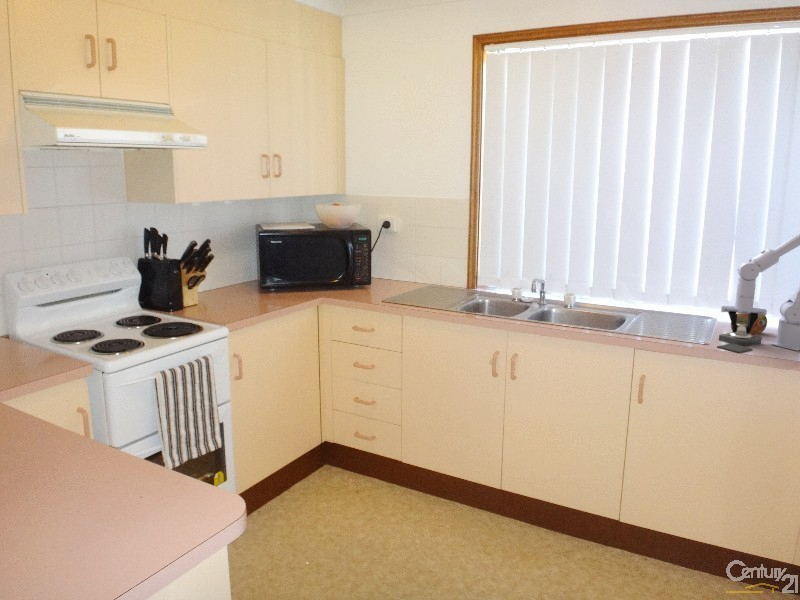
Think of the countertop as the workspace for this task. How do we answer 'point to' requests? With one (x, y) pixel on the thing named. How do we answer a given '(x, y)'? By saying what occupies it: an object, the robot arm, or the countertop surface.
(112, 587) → the countertop surface
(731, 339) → the frame
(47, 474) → the countertop surface
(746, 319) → the orange patterned rounded block
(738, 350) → the mat
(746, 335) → the door knob
